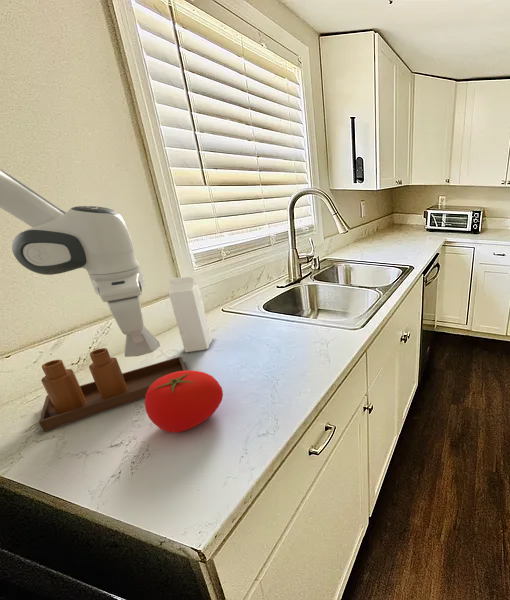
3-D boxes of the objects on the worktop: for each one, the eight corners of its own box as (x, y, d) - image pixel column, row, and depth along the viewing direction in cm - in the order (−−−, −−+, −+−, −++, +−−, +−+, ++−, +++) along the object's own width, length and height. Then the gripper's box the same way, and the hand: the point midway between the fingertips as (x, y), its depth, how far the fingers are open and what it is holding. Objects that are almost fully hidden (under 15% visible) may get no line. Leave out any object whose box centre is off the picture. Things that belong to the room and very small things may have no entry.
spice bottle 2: (102, 404, 74) (83, 359, 70) (102, 394, 78) (84, 350, 74) (129, 396, 77) (112, 352, 73) (128, 386, 81) (112, 344, 76)
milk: (207, 349, 98) (189, 279, 90) (184, 352, 96) (164, 281, 88) (212, 340, 103) (196, 273, 95) (190, 343, 102) (172, 275, 93)
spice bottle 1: (56, 419, 70) (33, 372, 66) (59, 408, 74) (37, 362, 69) (86, 410, 73) (66, 364, 68) (87, 399, 76) (68, 354, 72)
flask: (130, 345, 81) (117, 308, 77) (164, 340, 83) (153, 304, 79) (118, 360, 74) (103, 320, 71) (156, 354, 77) (143, 315, 73)
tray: (43, 431, 67) (38, 422, 66) (50, 404, 75) (46, 395, 74) (190, 382, 82) (187, 373, 81) (183, 363, 90) (180, 356, 89)
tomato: (181, 400, 75) (168, 358, 71) (237, 404, 74) (226, 361, 70) (135, 441, 64) (116, 393, 60) (200, 447, 63) (185, 398, 58)
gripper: (101, 274, 78) (120, 326, 83) (99, 297, 63) (122, 358, 68) (134, 269, 82) (150, 319, 87) (140, 289, 67) (158, 348, 72)
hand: (138, 336), depth 77 cm, fingers closed on flask, 5 cm apart
